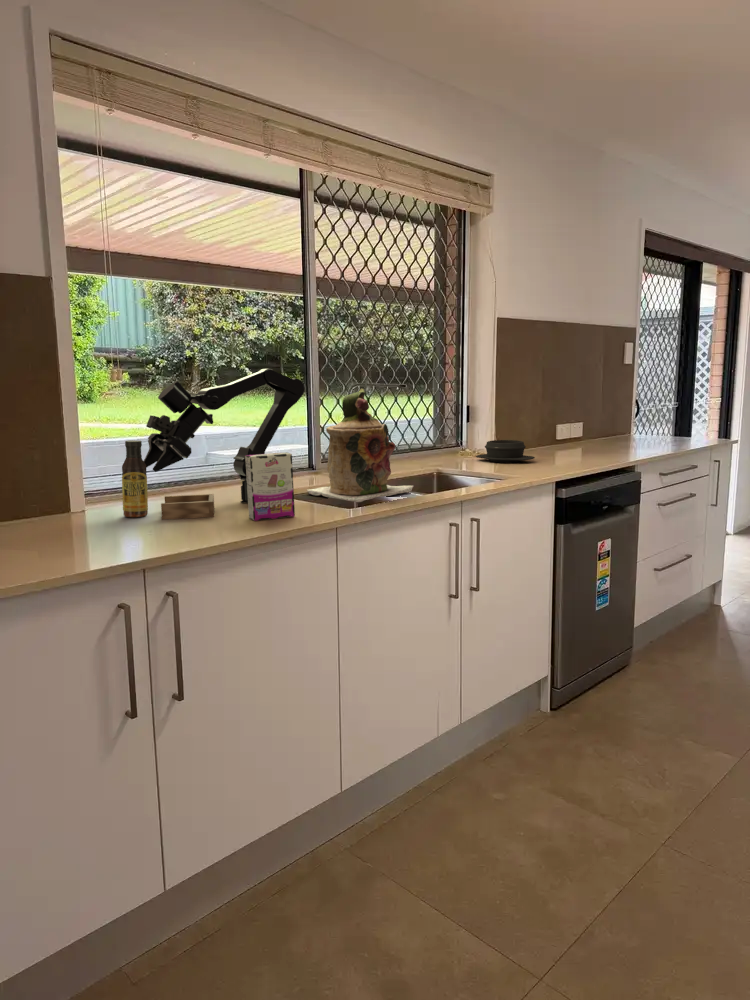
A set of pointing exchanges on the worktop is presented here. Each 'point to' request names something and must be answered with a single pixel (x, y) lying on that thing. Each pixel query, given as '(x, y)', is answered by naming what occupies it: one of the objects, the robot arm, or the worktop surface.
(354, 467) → the cookie jar
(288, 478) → the candy bar box
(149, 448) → the robot arm
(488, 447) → the casserole
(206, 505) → the box
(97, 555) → the worktop surface
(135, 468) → the sauce bottle
